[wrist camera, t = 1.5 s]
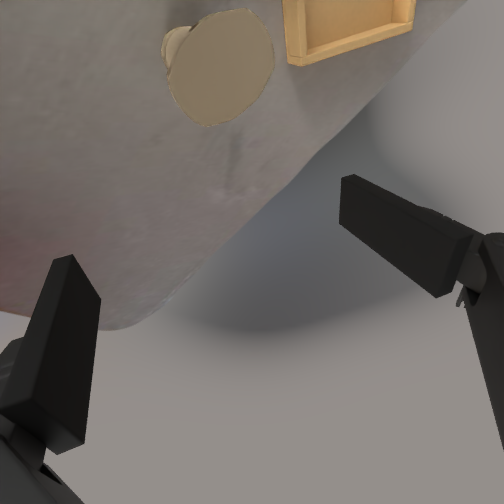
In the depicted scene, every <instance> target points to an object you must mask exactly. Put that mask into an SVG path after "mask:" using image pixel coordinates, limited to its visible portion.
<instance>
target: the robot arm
mask: <svg viewBox="0 0 504 504" xmlns="http://www.w3.org/2000/svg"><path fill="white" fill-rule="evenodd" d="M339 224H340V225H342V226H343V227H344V228H346V229H347V230H348V231H349V232H351V233H352V234H353V235H355V236H356V237H357V238H359V239H360V240H361V241H362V242H364V243H365V244H367V245H368V246H369V247H370V248H371V249H373V250H374V251H375V252H377V253H378V254H379V255H381V256H382V257H383V258H384V259H386V260H387V261H388V262H390V263H391V264H392V265H394V266H395V267H396V268H397V269H399V270H400V271H401V272H403V273H404V274H405V275H406V276H408V277H409V278H411V279H412V280H413V281H414V282H416V283H417V284H418V285H420V286H421V287H422V288H423V289H425V290H426V291H427V292H428V293H430V294H431V295H432V296H434V297H435V298H438V297H441V296H443V295H446V294H448V293H451V292H452V290H453V287H454V285H455V282H456V280H457V281H459V282H460V283H462V284H463V288H462V290H461V292H460V295H459V297H458V300H457V303H456V307H459V306H460V304H461V302H462V301H464V304H465V306H464V308H466V311H467V315H468V319H469V322H470V326H471V330H472V334H473V338H474V341H475V345H476V348H477V353H478V356H479V360H480V364H481V367H482V371H483V374H484V379H485V382H486V386H487V389H488V394H489V397H490V401H491V405H492V409H493V412H494V416H495V420H496V424H497V427H498V431H499V435H500V439H501V442H502V446H503V449H504V233H490V234H486V235H484V234H481V233H479V232H477V231H475V230H473V229H471V228H469V227H467V226H465V225H463V224H461V223H459V222H457V221H455V220H453V221H452V219H451V218H449V217H447V216H443V214H441V213H439V212H436V211H434V210H432V209H428V208H425V207H420V206H417V205H415V204H413V203H411V202H409V201H407V200H405V199H403V198H401V197H399V196H397V195H395V194H393V193H391V192H389V191H387V190H385V189H383V188H381V187H379V186H377V185H375V184H373V183H371V182H369V181H367V180H365V179H363V178H361V177H359V176H357V175H355V174H353V175H349V176H345V177H342V178H341V196H340V214H339ZM100 306H101V298H100V297H99V295H98V294H97V292H96V290H95V289H94V287H93V286H92V284H91V282H90V281H89V279H88V278H87V276H86V274H85V273H84V271H83V270H82V268H81V266H80V265H79V263H78V262H77V260H76V258H75V257H74V255H73V254H71V255H68V256H64V257H61V258H57V259H54V260H53V262H52V265H51V267H50V270H49V272H48V275H47V278H46V280H45V283H44V286H43V288H42V291H41V293H40V296H39V299H38V301H37V304H36V307H35V309H34V312H33V314H32V317H31V320H30V322H29V325H28V327H27V330H26V333H25V335H24V337H22V338H19V339H15V340H13V341H11V342H10V343H9V344H8V346H7V347H6V348H5V349H4V350H3V352H2V353H1V354H0V504H84V503H83V502H82V501H81V499H80V498H79V497H78V496H77V495H76V494H75V493H74V492H73V491H72V490H71V489H70V488H69V487H68V486H67V485H66V484H65V483H64V482H63V481H62V480H61V478H60V477H59V476H58V475H57V474H56V473H55V472H54V471H53V470H52V469H51V468H50V467H49V466H48V465H46V464H45V463H43V460H44V455H45V451H46V447H47V448H48V449H49V450H51V451H52V452H54V453H55V454H56V455H58V454H61V453H63V452H66V451H68V450H70V449H73V448H75V447H78V446H80V445H82V444H84V443H85V434H86V425H87V417H88V408H89V400H90V391H91V382H92V374H93V366H94V357H95V348H96V339H97V331H98V323H99V314H100Z"/></svg>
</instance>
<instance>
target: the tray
mask: <svg viewBox="0 0 504 504" xmlns="http://www.w3.org/2000/svg"><path fill="white" fill-rule="evenodd" d="M415 7H416V0H282V8H283V18H284V29H285V40H286V50H287V61H288V63H289V64H293V65H297V66H301V67H302V66H305V65H308V64H311V63H314V62H317V61H320V60H323V59H326V58H329V57H332V56H335V55H338V54H341V53H345V52H348V51H351V50H354V49H357V48H360V47H363V46H366V45H369V44H372V43H375V42H378V41H381V40H384V39H387V38H390V37H393V36H396V35H399V34H402V33H406V32H409V31H411V30H412V27H413V22H412V21H413V20H414V14H415Z"/></svg>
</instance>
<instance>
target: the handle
mask: <svg viewBox="0 0 504 504" xmlns="http://www.w3.org/2000/svg"><path fill="white" fill-rule="evenodd" d="M161 56H162V58H163V61H164V63H165V66H166V67H167V69H168V72H167V81H168V85H169V89H170V92H171V94H172V96H173V98H174V100H175V101H176V103H177V104H178V106H179V107H180V108H181V110H182V111H183V112H184V113H185V114H186V115H187V116H188V117H189V118H190V119H191V120H192V121H194V122H195V123H197V124H199V125H202V126H205V127H208V126H212V125H216V124H220V123H224V122H227V121H230V120H232V119H234V118H236V117H237V116H239V115H240V114H241V113H242V112H244V111H245V110H246V109H247V108H248V107H249V106H251V105H252V104H253V103H254V102H255V101H256V100H257V99H258V98H259V96H260V94H261V93H262V91H263V90H264V88H265V86H266V84H267V82H268V80H269V78H270V76H271V74H272V72H273V70H274V64H275V56H274V49H273V44H272V41H271V38H270V36H269V33H268V31H267V29H266V27H265V25H264V24H263V22H262V21H261V20H260V18H259V17H258V16H257V15H256V14H254V13H253V12H252V11H250V10H249V9H247V8H240V9H233V10H227V11H222V12H217V13H213V14H210V15H207V16H205V17H204V18H202V19H201V20H200V21H199V22H197V23H196V24H195V25H194V26H193V27H191V26H181V27H177V28H175V29H173V30H171V31H169V32H167V33H166V34H165V36H164V40H163V43H162V51H161Z"/></svg>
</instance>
